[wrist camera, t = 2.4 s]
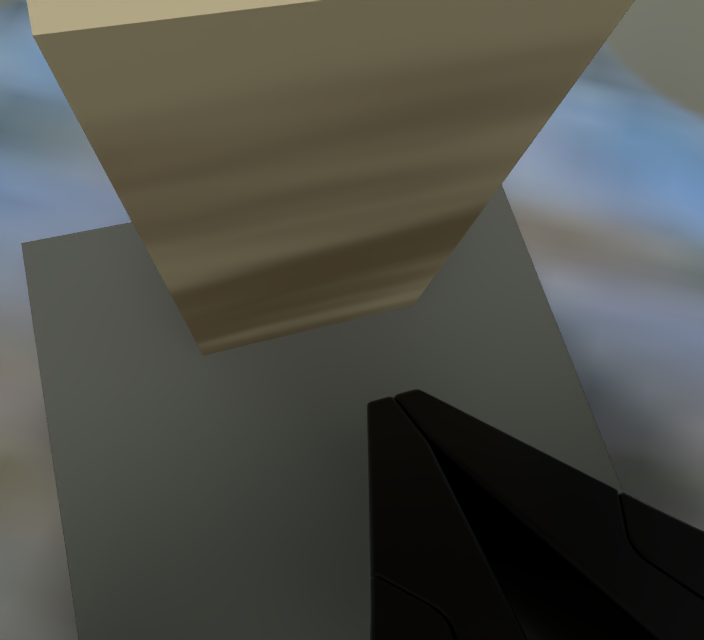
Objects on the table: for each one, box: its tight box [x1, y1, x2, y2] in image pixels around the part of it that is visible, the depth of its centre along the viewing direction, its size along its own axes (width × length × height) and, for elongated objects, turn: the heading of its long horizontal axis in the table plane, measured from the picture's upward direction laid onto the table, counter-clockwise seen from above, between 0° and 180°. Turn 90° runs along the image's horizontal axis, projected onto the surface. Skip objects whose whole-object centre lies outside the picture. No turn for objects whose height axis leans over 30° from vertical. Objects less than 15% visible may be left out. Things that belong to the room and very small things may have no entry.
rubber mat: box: [21, 184, 623, 640], centre depth 15 cm, size 13×14×1 cm
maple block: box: [27, 0, 635, 356], centre depth 11 cm, size 4×6×11 cm, turn 106°
